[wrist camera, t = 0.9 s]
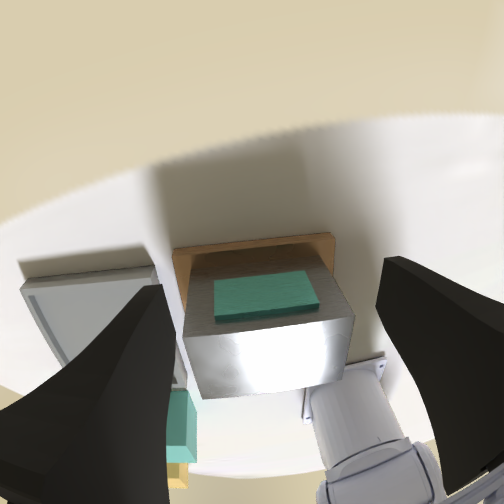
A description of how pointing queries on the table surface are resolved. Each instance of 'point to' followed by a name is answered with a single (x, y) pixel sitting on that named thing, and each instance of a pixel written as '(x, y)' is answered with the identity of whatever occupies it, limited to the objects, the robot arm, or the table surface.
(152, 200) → the table surface
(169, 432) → the teal block
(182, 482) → the ochre block
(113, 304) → the slate tray
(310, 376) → the silver unit
